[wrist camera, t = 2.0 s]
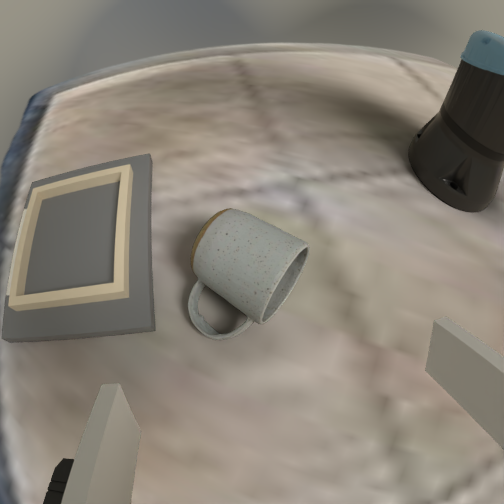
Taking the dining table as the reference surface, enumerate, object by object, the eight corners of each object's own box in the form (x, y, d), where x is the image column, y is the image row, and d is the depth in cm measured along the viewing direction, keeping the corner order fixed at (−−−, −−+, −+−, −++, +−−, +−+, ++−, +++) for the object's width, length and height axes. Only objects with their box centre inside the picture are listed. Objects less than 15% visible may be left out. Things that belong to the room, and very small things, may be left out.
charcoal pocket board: (152, 161, 38) (147, 144, 36) (155, 330, 28) (146, 320, 25) (36, 189, 36) (27, 175, 34) (9, 342, 26) (-7, 334, 23)
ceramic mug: (236, 232, 33) (232, 183, 26) (304, 272, 31) (319, 229, 24) (170, 312, 29) (146, 278, 22) (242, 363, 27) (239, 344, 20)
